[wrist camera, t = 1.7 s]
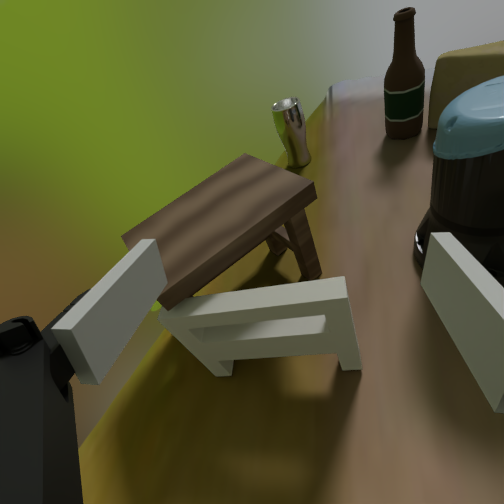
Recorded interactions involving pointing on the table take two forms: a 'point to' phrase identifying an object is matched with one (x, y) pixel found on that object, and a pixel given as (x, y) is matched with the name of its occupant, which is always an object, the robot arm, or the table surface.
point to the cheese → (462, 74)
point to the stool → (229, 225)
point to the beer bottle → (404, 81)
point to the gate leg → (267, 324)
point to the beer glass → (292, 130)
